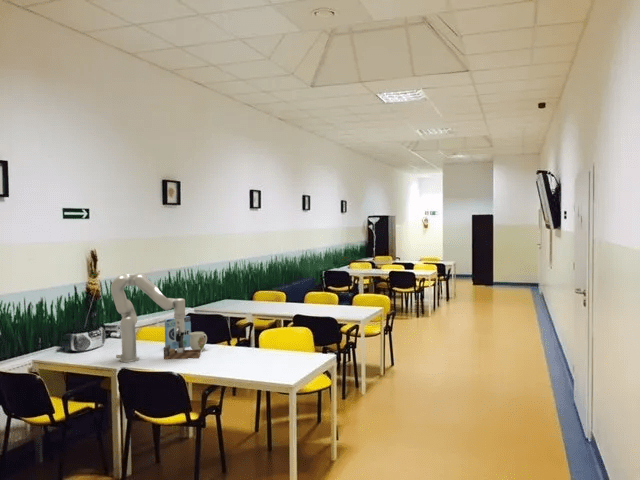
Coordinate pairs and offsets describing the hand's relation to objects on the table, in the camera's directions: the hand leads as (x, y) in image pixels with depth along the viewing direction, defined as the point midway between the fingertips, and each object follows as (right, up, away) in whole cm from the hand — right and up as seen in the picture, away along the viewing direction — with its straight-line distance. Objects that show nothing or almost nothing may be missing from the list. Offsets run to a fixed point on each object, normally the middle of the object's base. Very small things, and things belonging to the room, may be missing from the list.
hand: (179, 339), depth 390 cm
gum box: (-9, -12, +31) cm, 34 cm away
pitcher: (+9, -12, +21) cm, 26 cm away
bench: (+2, -12, +1) cm, 13 cm away
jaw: (+1, -10, 0) cm, 10 cm away
